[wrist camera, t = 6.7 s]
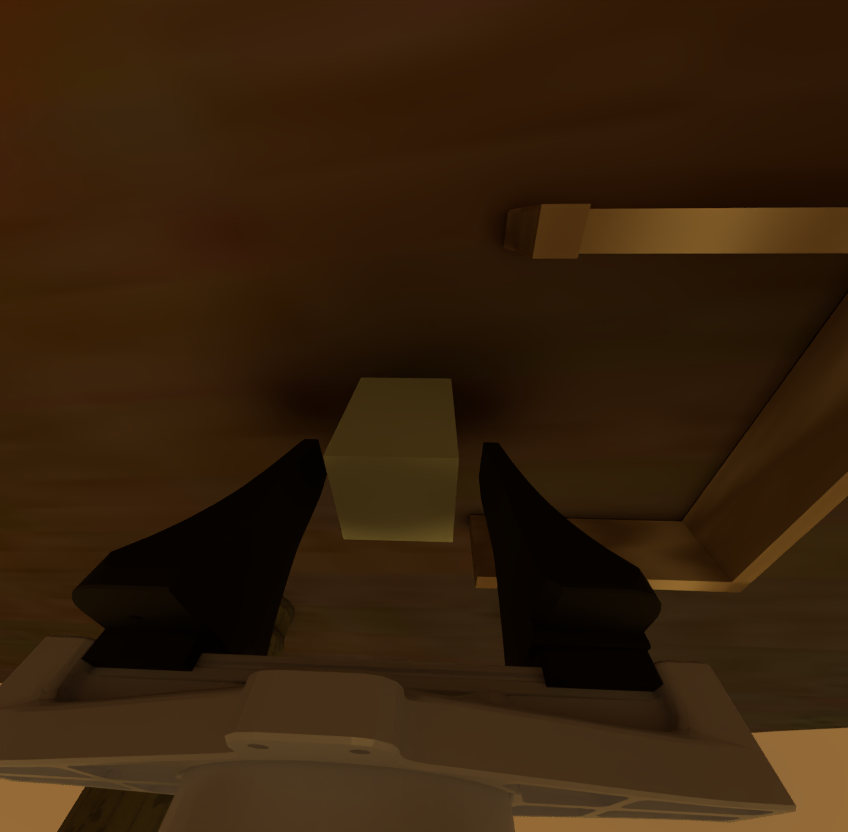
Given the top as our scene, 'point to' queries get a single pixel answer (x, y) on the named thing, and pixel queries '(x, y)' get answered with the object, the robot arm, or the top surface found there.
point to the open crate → (766, 438)
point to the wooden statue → (142, 811)
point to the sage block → (396, 461)
